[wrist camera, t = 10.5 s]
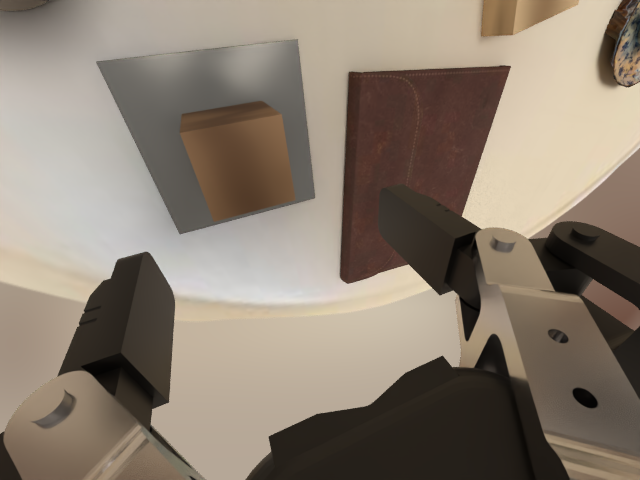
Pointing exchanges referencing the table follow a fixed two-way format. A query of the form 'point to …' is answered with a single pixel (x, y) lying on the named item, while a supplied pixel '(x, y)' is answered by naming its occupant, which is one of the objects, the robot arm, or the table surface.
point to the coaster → (202, 94)
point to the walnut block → (239, 157)
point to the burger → (626, 43)
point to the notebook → (411, 149)
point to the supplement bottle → (20, 4)
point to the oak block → (519, 14)
